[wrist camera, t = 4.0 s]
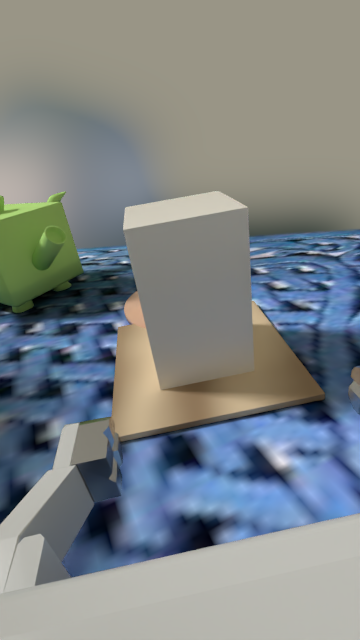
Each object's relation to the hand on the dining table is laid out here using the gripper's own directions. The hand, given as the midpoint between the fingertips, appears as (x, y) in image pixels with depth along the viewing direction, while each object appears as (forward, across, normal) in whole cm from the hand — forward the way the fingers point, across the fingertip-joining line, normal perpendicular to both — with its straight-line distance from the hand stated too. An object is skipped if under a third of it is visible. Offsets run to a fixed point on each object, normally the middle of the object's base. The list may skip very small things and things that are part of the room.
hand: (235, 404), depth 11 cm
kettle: (+30, +17, +6) cm, 36 cm away
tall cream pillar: (+11, 0, +5) cm, 12 cm away
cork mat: (+11, 0, +6) cm, 12 cm away
